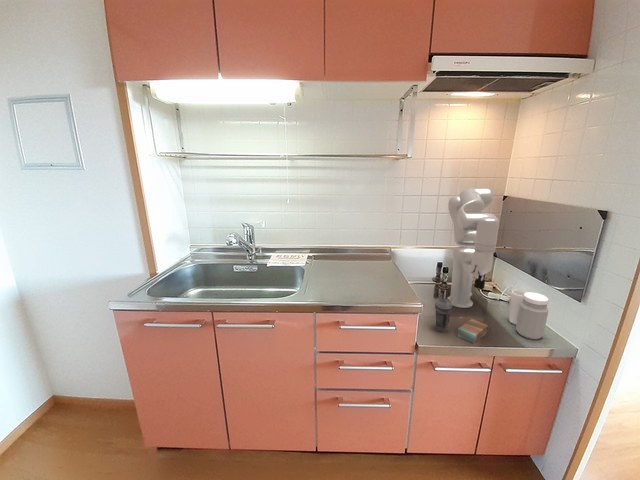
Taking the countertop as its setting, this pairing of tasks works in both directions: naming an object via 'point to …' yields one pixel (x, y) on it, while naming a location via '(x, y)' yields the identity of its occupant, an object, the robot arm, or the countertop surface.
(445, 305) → the beverage cup
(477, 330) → the wooden block
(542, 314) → the jar
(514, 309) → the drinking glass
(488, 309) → the countertop surface
